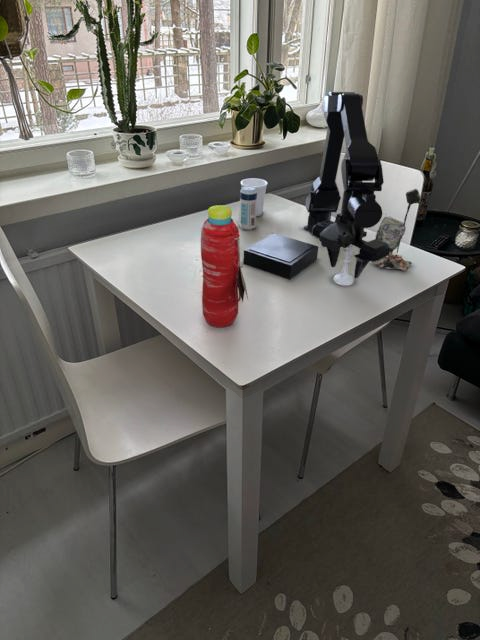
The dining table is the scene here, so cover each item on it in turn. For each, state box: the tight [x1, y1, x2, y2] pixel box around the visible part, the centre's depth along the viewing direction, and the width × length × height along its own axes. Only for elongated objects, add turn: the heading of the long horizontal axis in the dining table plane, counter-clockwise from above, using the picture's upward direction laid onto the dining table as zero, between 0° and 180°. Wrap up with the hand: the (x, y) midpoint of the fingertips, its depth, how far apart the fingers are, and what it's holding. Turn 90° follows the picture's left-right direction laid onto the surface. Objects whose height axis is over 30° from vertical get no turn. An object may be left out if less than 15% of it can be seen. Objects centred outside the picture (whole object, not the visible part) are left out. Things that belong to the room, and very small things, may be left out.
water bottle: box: [200, 204, 249, 328], centre depth 96 cm, size 12×8×25 cm, turn 51°
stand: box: [242, 232, 319, 281], centre depth 126 cm, size 14×14×4 cm
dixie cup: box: [240, 177, 268, 217], centre depth 154 cm, size 8×8×10 cm
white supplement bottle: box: [239, 186, 257, 231], centre depth 143 cm, size 5×5×12 cm
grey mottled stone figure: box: [374, 188, 422, 272], centre depth 122 cm, size 8×11×20 cm
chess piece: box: [333, 245, 355, 286], centre depth 117 cm, size 5×5×10 cm
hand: (344, 272), depth 118 cm, fingers open, 7 cm apart
